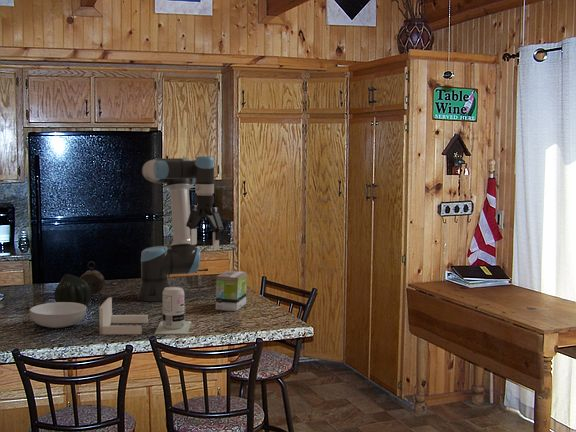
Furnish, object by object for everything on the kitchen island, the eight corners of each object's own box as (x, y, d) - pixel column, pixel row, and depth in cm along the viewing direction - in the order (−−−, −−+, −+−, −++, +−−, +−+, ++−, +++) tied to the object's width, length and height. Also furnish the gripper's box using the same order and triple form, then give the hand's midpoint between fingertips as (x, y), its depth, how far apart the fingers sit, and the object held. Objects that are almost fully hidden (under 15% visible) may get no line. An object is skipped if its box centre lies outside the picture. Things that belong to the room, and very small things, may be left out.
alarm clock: (105, 295, 327) (104, 260, 325) (101, 298, 322) (100, 262, 320) (82, 294, 328) (81, 260, 326) (77, 297, 323) (77, 262, 321)
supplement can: (163, 324, 275) (163, 286, 274) (185, 324, 276) (185, 286, 274) (161, 329, 267) (161, 290, 266) (183, 329, 268) (183, 290, 266)
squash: (100, 295, 303) (86, 266, 308) (69, 302, 292) (55, 272, 297) (88, 312, 311) (74, 284, 316) (57, 319, 300) (43, 290, 305)
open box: (147, 322, 280) (147, 297, 279) (141, 334, 262) (141, 307, 261) (108, 322, 279) (108, 297, 278) (99, 334, 262) (99, 307, 261)
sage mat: (154, 334, 262) (154, 333, 262) (160, 322, 280) (160, 321, 280) (187, 334, 263) (187, 333, 263) (191, 322, 281) (191, 321, 281)
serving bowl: (55, 335, 260) (55, 317, 259) (18, 327, 271) (18, 309, 270) (98, 323, 277) (98, 306, 277) (62, 316, 288) (61, 299, 288)
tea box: (237, 311, 300) (237, 277, 298) (215, 310, 302) (215, 275, 300) (246, 303, 314) (247, 270, 313) (225, 302, 316) (225, 269, 315)
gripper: (177, 193, 293) (177, 243, 295) (218, 196, 276) (218, 250, 279) (191, 192, 298) (191, 242, 301) (232, 195, 282) (232, 248, 284)
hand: (204, 246), depth 290 cm, fingers open, 13 cm apart
